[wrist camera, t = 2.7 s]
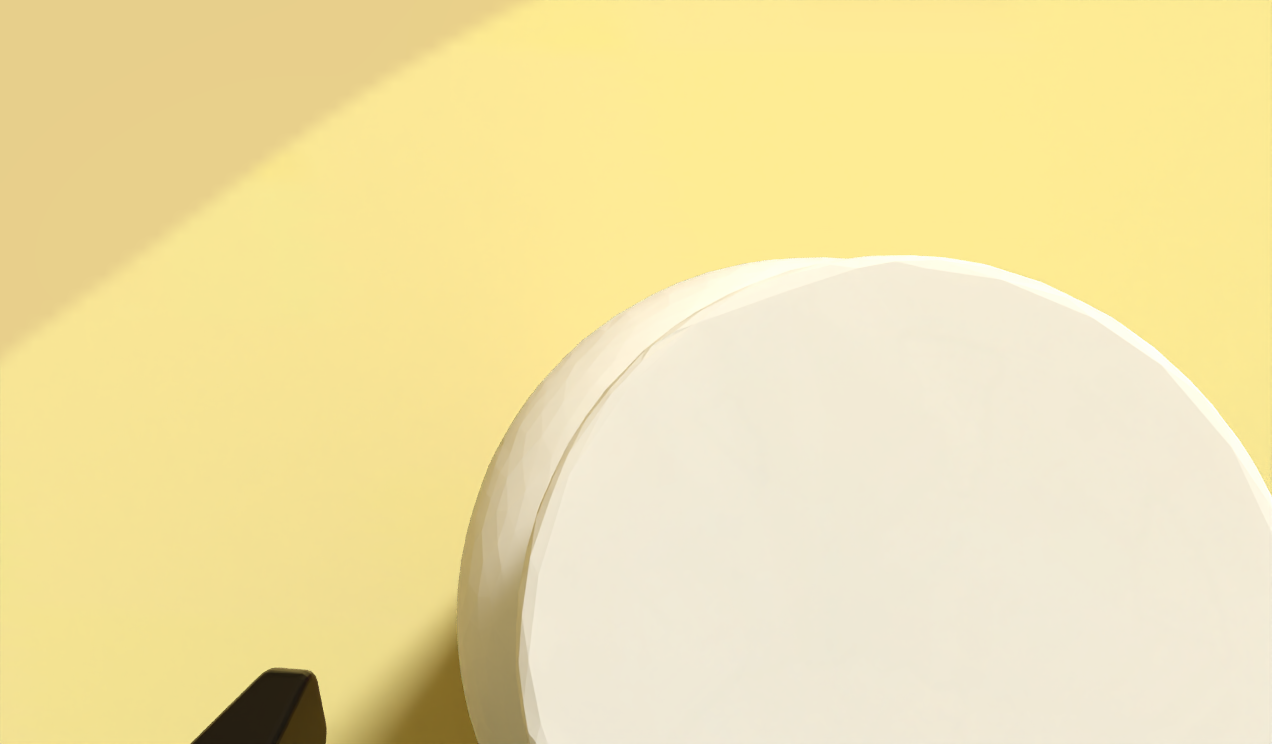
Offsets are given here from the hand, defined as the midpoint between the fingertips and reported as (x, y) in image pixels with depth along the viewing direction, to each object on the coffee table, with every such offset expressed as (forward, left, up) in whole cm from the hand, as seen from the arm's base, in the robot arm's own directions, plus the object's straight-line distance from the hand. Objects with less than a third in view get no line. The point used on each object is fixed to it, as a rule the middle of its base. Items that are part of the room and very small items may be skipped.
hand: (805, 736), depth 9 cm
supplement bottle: (+1, +1, -9) cm, 9 cm away
